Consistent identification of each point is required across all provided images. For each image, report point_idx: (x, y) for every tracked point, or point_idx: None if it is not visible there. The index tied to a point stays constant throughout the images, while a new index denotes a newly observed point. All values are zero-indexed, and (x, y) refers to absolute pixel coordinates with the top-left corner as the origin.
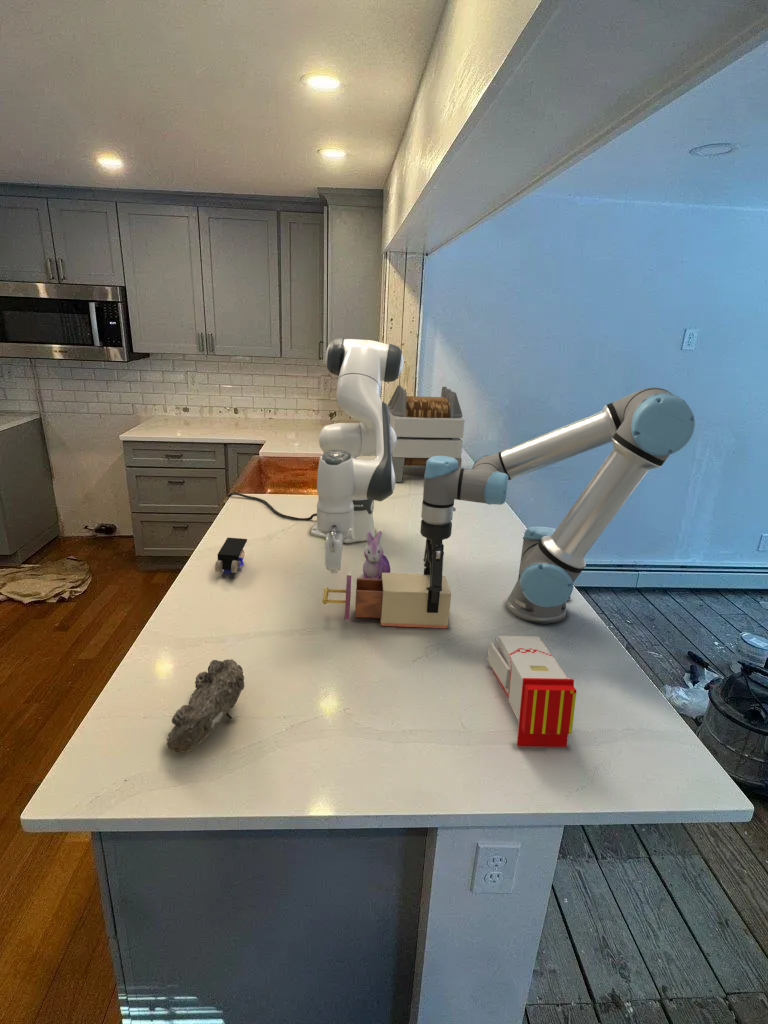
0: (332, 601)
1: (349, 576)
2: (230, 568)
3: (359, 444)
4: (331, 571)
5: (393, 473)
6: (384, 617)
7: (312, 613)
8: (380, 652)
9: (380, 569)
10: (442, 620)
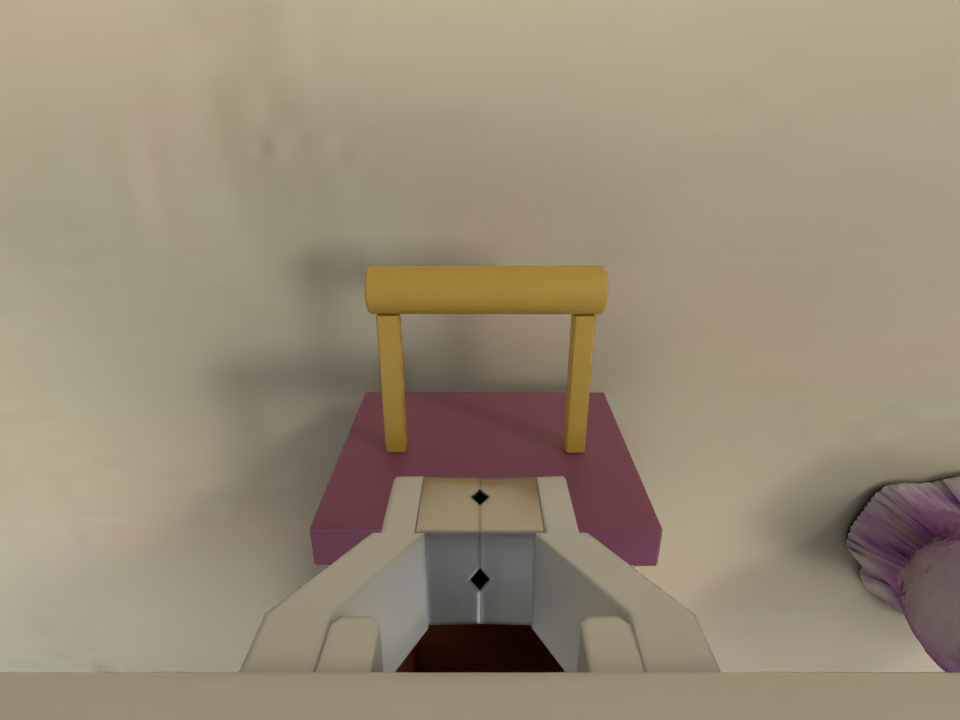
0: (381, 354)
1: (632, 551)
2: None
3: None
4: (390, 496)
5: None
6: None
7: (514, 152)
8: (131, 548)
9: (937, 660)
10: None
